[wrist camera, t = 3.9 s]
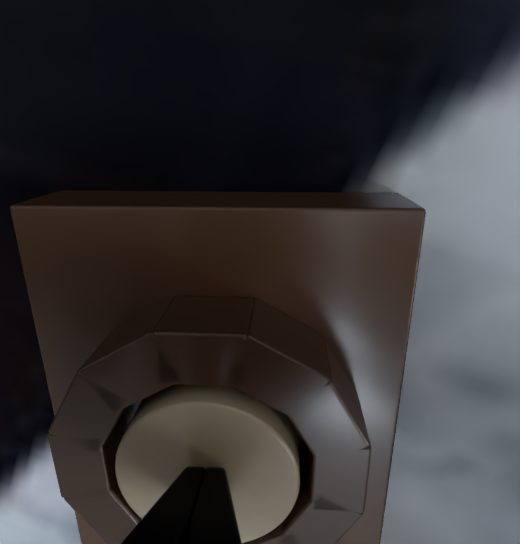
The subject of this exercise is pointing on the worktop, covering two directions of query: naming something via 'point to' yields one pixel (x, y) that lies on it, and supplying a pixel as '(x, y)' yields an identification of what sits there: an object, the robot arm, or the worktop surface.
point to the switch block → (226, 333)
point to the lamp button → (212, 452)
